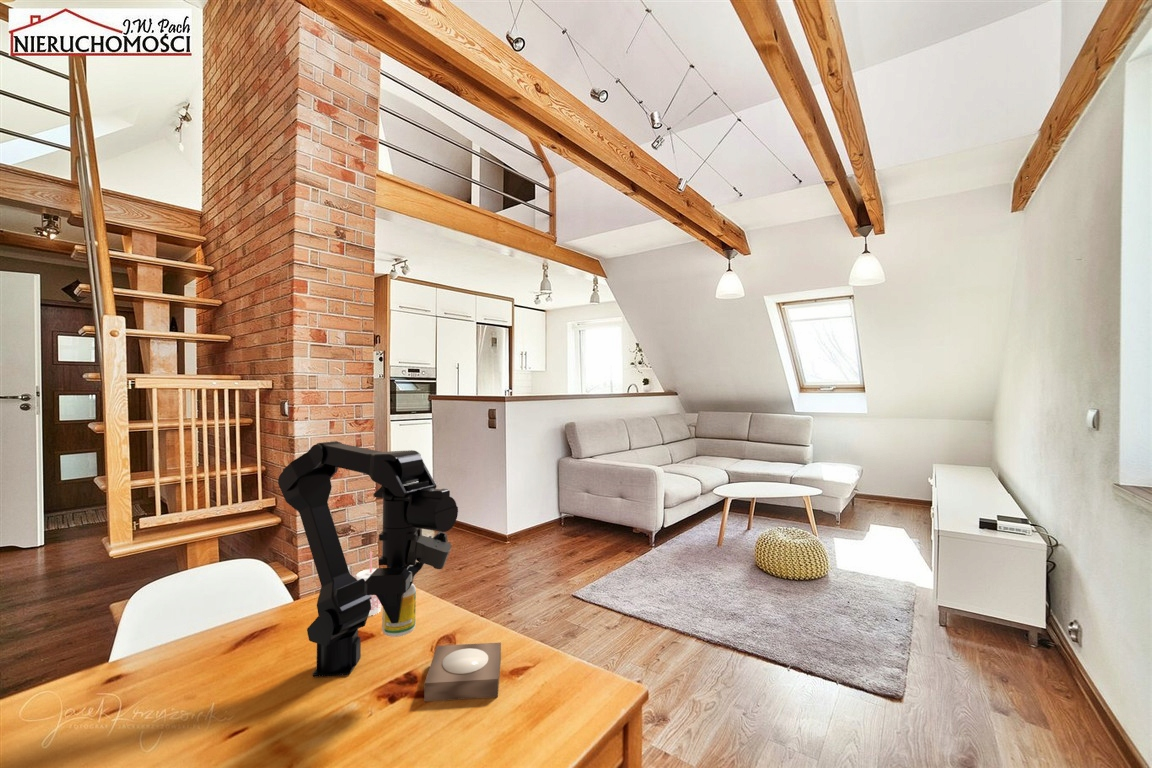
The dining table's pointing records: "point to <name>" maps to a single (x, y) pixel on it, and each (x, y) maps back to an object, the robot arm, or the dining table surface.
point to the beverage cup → (374, 601)
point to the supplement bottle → (402, 615)
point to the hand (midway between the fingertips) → (399, 615)
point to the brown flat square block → (463, 672)
